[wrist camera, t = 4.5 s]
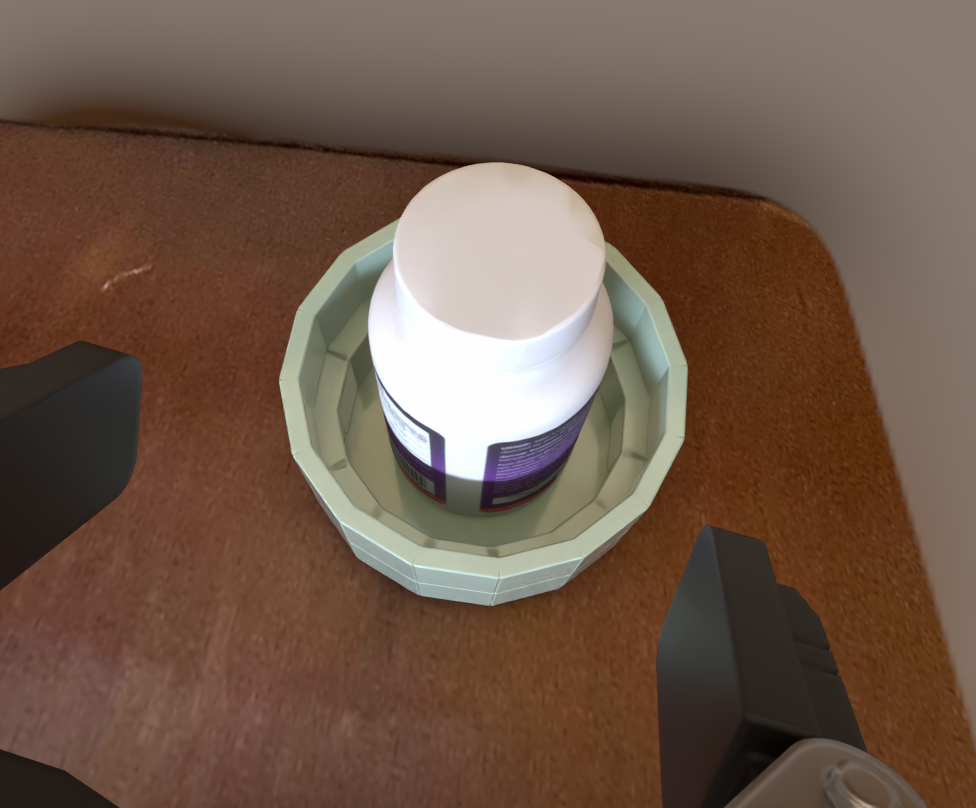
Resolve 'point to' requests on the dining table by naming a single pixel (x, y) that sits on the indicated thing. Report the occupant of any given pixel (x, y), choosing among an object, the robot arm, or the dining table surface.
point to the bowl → (465, 538)
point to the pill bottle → (490, 335)
